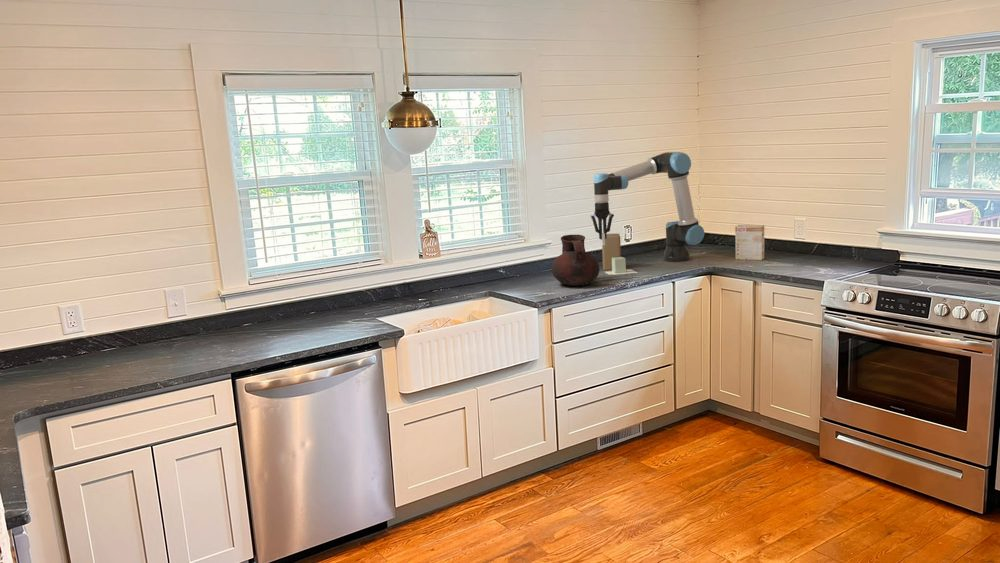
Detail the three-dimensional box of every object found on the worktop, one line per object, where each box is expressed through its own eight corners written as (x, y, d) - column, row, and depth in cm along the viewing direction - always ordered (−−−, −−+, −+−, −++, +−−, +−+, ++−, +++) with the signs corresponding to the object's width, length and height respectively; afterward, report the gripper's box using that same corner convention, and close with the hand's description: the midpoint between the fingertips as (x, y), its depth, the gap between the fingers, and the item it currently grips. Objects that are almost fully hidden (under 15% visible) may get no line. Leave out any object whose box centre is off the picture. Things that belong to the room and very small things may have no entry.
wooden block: (620, 267, 429) (619, 233, 425) (621, 270, 419) (620, 235, 415) (602, 268, 430) (601, 233, 426) (603, 271, 420) (602, 236, 416)
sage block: (622, 270, 415) (622, 256, 413) (625, 272, 409) (625, 258, 407) (612, 271, 414) (611, 257, 412) (615, 273, 408) (614, 259, 407)
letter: (631, 269, 418) (631, 269, 418) (637, 273, 407) (637, 272, 407) (604, 272, 416) (603, 271, 416) (609, 275, 405) (609, 275, 405)
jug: (552, 290, 375) (550, 241, 371) (551, 281, 400) (549, 235, 395) (602, 287, 374) (600, 238, 369) (598, 278, 399) (596, 232, 394)
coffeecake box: (764, 258, 429) (764, 224, 425) (761, 260, 423) (762, 226, 419) (738, 257, 436) (738, 224, 433) (735, 259, 430) (735, 226, 427)
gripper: (611, 200, 408) (612, 243, 412) (588, 202, 406) (589, 245, 410) (615, 201, 400) (616, 244, 405) (591, 203, 398) (593, 246, 403)
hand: (603, 244), depth 407 cm, fingers closed
